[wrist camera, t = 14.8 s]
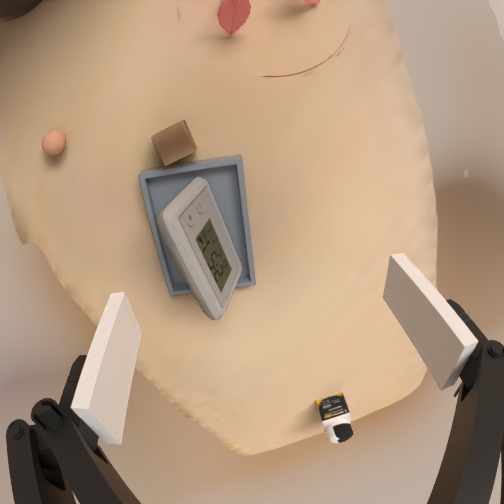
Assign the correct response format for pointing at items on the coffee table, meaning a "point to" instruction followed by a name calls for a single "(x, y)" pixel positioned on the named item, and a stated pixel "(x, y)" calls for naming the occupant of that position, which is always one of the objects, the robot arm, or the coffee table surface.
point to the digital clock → (201, 246)
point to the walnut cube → (174, 143)
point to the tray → (228, 201)
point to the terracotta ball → (53, 142)
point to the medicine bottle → (335, 417)
